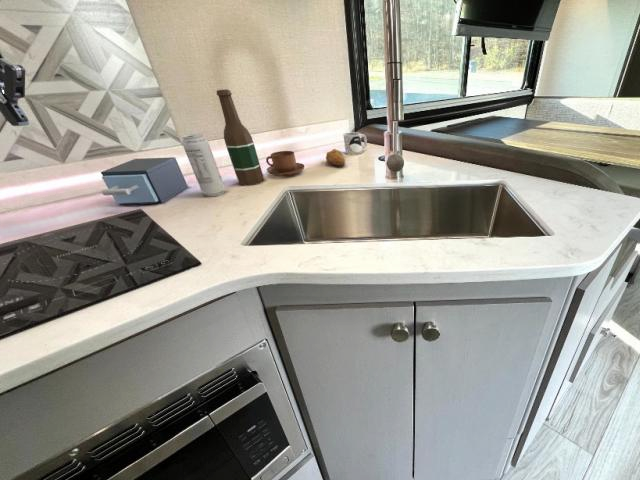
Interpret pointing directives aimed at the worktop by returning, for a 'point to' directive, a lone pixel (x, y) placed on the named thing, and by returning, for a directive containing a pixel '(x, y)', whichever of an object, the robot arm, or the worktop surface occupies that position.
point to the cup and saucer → (283, 164)
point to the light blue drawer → (129, 188)
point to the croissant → (336, 158)
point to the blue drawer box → (154, 176)
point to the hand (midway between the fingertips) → (21, 125)
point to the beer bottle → (239, 143)
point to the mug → (354, 142)
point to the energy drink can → (203, 164)
